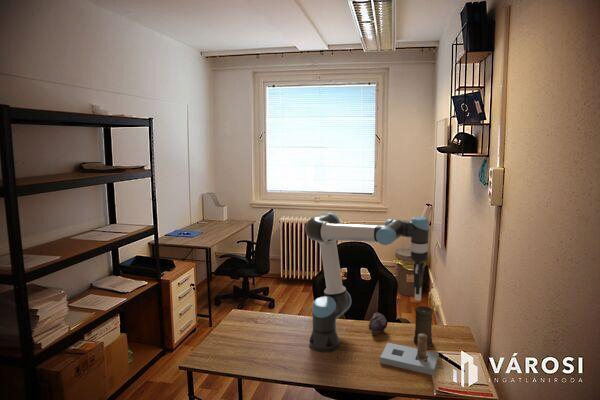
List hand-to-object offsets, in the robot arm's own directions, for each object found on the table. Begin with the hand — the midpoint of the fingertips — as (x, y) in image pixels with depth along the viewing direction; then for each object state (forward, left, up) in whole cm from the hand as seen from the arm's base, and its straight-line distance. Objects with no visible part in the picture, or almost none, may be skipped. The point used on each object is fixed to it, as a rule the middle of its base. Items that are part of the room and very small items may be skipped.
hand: (417, 299), depth 192 cm
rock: (-23, +16, -29) cm, 40 cm away
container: (+1, +13, -29) cm, 31 cm away
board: (-2, -6, -28) cm, 29 cm away
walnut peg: (+3, -6, -28) cm, 29 cm away
